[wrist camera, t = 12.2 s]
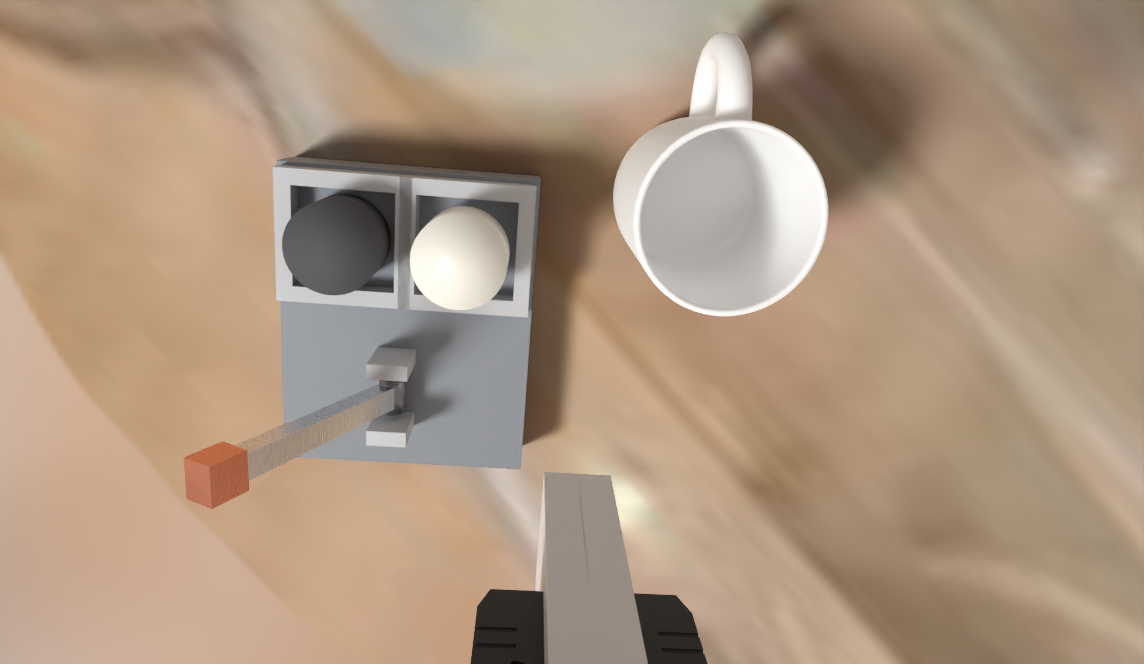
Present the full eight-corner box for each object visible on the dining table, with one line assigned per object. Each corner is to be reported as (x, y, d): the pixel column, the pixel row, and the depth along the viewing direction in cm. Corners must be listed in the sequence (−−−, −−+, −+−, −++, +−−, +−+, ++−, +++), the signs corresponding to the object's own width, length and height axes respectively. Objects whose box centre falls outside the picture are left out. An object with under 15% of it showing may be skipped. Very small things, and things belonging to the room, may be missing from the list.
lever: (390, 370, 40) (183, 456, 29) (412, 375, 40) (209, 465, 29) (390, 403, 41) (186, 499, 30) (411, 409, 40) (211, 510, 29)
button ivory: (420, 202, 36) (410, 210, 33) (512, 209, 37) (510, 218, 34) (418, 291, 38) (408, 306, 35) (506, 297, 38) (504, 313, 35)
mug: (623, 35, 39) (653, 11, 29) (780, 48, 40) (861, 28, 30) (604, 263, 42) (625, 311, 33) (749, 272, 43) (812, 321, 33)
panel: (295, 156, 40) (256, 164, 34) (540, 176, 41) (541, 187, 35) (301, 433, 44) (267, 480, 39) (521, 446, 45) (519, 493, 40)
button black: (300, 190, 37) (280, 197, 34) (391, 197, 37) (379, 205, 34) (302, 278, 38) (283, 292, 35) (390, 284, 39) (378, 298, 36)
